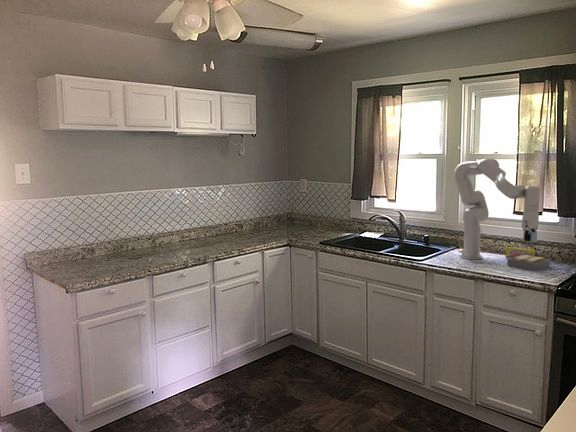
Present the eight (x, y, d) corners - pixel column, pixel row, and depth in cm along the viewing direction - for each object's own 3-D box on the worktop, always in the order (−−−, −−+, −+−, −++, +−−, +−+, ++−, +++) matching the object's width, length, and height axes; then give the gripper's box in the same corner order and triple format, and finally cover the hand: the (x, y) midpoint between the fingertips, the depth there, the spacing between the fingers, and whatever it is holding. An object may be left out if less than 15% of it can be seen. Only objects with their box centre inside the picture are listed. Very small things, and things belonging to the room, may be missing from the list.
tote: (507, 267, 283) (507, 259, 282) (522, 263, 292) (522, 255, 291) (534, 272, 270) (535, 264, 269) (549, 268, 279) (550, 259, 278)
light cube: (523, 240, 279) (523, 231, 279) (528, 239, 282) (528, 230, 281) (531, 241, 275) (532, 233, 274) (536, 240, 278) (537, 232, 277)
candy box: (504, 260, 302) (505, 246, 301) (506, 259, 303) (506, 246, 302) (533, 264, 291) (534, 250, 290) (534, 263, 292) (535, 249, 291)
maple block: (512, 265, 282) (512, 257, 281) (523, 262, 289) (524, 254, 288) (533, 269, 272) (533, 261, 272) (544, 266, 279) (544, 258, 279)
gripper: (532, 206, 284) (531, 237, 286) (516, 208, 274) (515, 241, 277) (545, 207, 278) (544, 239, 280) (529, 210, 268) (528, 242, 271)
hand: (529, 239), depth 279 cm, fingers closed on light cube, 4 cm apart
